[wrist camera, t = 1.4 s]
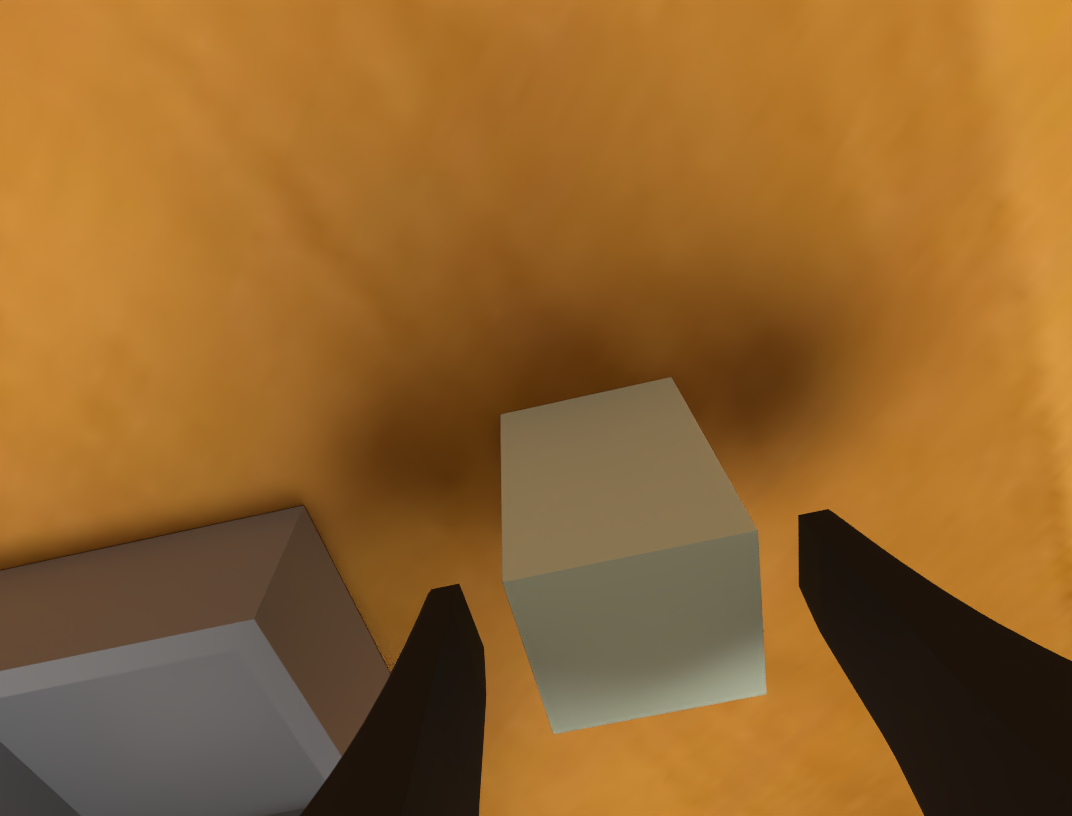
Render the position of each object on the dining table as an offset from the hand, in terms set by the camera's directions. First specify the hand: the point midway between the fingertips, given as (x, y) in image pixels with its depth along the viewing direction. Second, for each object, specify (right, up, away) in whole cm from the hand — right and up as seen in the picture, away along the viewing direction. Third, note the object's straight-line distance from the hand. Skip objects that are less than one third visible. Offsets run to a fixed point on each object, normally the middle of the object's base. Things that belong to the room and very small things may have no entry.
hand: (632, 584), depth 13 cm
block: (0, +2, +4) cm, 5 cm away
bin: (-14, -6, +8) cm, 17 cm away
